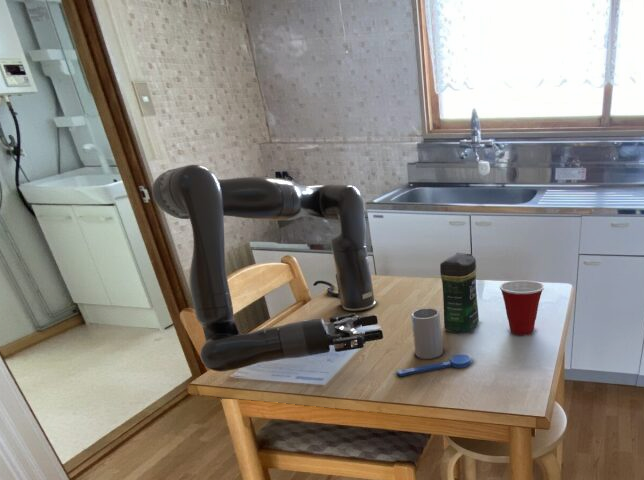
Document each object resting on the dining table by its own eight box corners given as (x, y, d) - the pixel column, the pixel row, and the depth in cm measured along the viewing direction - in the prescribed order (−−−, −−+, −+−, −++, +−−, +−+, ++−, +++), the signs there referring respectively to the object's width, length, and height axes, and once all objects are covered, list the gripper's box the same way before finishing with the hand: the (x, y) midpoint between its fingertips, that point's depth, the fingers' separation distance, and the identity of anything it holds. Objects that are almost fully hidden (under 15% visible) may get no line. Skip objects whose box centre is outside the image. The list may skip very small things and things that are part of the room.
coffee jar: (469, 336, 128) (464, 263, 119) (440, 332, 131) (433, 260, 122) (483, 321, 136) (480, 251, 127) (456, 318, 139) (450, 249, 129)
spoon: (399, 379, 111) (398, 375, 110) (396, 370, 115) (395, 366, 114) (473, 365, 115) (473, 361, 114) (467, 357, 119) (467, 352, 118)
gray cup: (410, 354, 121) (405, 314, 116) (429, 344, 125) (425, 305, 120) (429, 361, 118) (424, 321, 113) (448, 351, 122) (445, 311, 117)
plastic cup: (548, 323, 133) (549, 278, 127) (538, 341, 124) (538, 293, 118) (507, 320, 136) (506, 275, 130) (495, 337, 127) (493, 290, 121)
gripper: (301, 336, 103) (382, 322, 107) (300, 310, 115) (373, 299, 119) (309, 368, 107) (387, 354, 111) (307, 341, 119) (377, 329, 123)
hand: (379, 326), depth 115 cm, fingers open, 8 cm apart
